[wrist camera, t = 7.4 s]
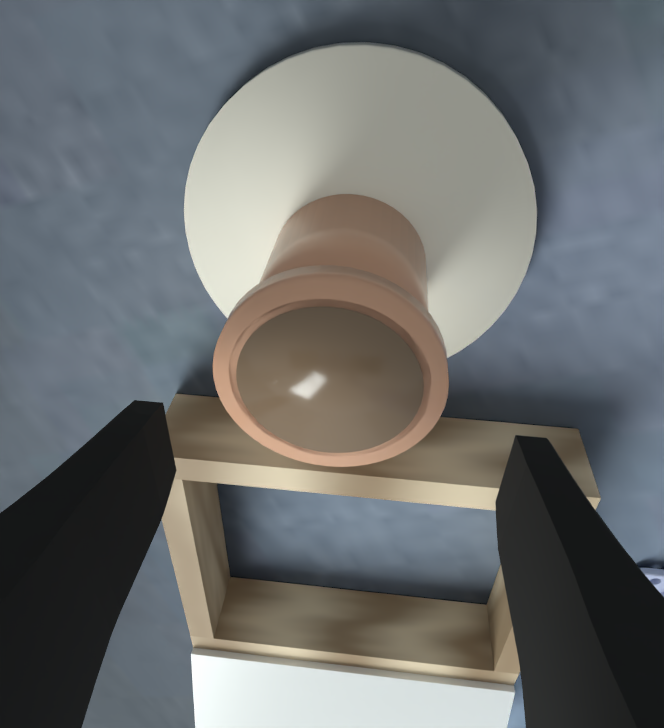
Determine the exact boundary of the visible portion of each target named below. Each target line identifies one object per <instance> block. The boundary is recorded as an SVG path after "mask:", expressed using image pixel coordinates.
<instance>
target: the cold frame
mask: <svg viewBox="0 0 664 728" xmlns="http://www.w3.org/2000/svg"><path fill="white" fill-rule="evenodd" d="M165 416H166V421H167V425H168V430H169V435H170V440H171V445H172V450H173V455H174V460H175V465H176V470H177V471H176V474H175V478H174V481H173V485H172V488H171V492H170V495H169V498H168V501H167V505H166V508H165V511H164V514H163V517H162V522H163V526H164V530H165V534H166V538H167V542H168V546H169V550H170V555H171V559H172V563H173V567H174V571H175V575H176V579H177V583H178V587H179V591H180V595H181V599H182V603H183V607H184V611H185V616H186V620H187V624H188V628H189V632H190V636H191V640H192V644H193V650H192V653H191V662H192V679H193V696H194V712H195V728H507V725H508V720H509V716H510V712H511V708H512V704H513V700H514V696H515V689H514V684H515V682H516V679H517V677H518V675H519V673H520V665H519V658H518V653H517V648H516V642H515V637H514V632H513V626H512V621H511V616H510V611H509V605H508V600H507V595H506V589H505V584H504V578H503V573H502V567H501V564H500V567H499V570H498V573H497V576H496V579H495V582H494V585H493V588H492V591H491V594H490V596H489V599H488V602H487V605H484V604H475V603H465V602H456V601H447V600H438V599H429V598H420V597H410V596H401V595H392V594H383V593H374V592H364V591H355V590H346V589H337V588H328V587H319V586H309V585H300V584H291V583H282V582H273V581H263V580H254V579H245V578H236V577H230V571H229V564H228V557H227V550H226V544H225V537H224V530H223V523H222V516H221V509H220V503H219V496H218V489H217V483H220V484H231V485H241V486H251V487H261V488H272V489H282V490H292V491H302V492H312V493H323V494H333V495H343V496H353V497H364V498H374V499H384V500H394V501H404V502H415V503H425V504H435V505H445V506H456V507H466V508H476V509H486V510H496V505H495V502H496V498H497V495H498V492H499V488H500V485H501V482H502V478H503V475H504V472H505V468H506V465H507V462H508V458H509V455H510V452H511V448H512V445H513V442H514V438H515V435H520V436H531V437H542V438H547V439H548V440H549V441H550V442H551V444H552V445H553V447H554V449H555V450H556V452H557V453H558V455H559V456H560V458H561V460H562V461H563V463H564V464H565V466H566V467H567V469H568V470H569V472H570V473H571V475H572V476H573V478H574V480H575V481H576V483H577V484H578V485H579V487H580V488H581V490H582V491H583V493H584V494H585V496H586V497H587V499H588V500H589V502H590V503H591V505H592V506H593V507H594V509H595V510H596V508H597V505H598V503H599V501H600V499H601V497H600V494H599V491H598V488H597V485H596V482H595V479H594V476H593V473H592V469H591V466H590V463H589V460H588V457H587V454H586V451H585V448H584V445H583V442H582V439H581V436H580V433H579V430H578V429H573V428H562V427H550V426H539V425H527V424H516V423H505V422H493V421H482V420H470V419H459V418H448V417H440V418H439V420H438V421H437V423H436V424H435V426H434V427H433V428H432V430H431V431H430V432H429V433H428V434H427V435H426V436H425V437H424V438H423V439H422V440H420V441H419V442H418V443H417V444H416V445H414V446H413V447H411V448H409V449H408V450H406V451H405V452H403V453H400V454H398V455H396V456H394V457H392V458H389V459H386V460H383V461H380V462H376V463H372V464H367V465H360V466H350V467H333V466H322V465H314V464H310V463H305V462H301V461H298V460H295V459H292V458H288V457H286V456H284V455H281V454H279V453H277V452H274V451H273V450H271V449H269V448H267V447H265V446H263V445H262V444H260V443H259V442H257V441H256V440H254V439H253V438H252V437H251V436H249V435H248V434H247V433H246V432H245V431H243V430H242V429H241V428H240V427H239V426H238V424H237V423H236V422H235V421H234V420H233V419H232V417H231V416H230V415H229V413H228V412H227V411H226V409H225V407H224V406H223V404H222V402H221V400H220V398H219V397H208V396H196V395H185V394H175V396H174V398H173V400H172V402H171V405H170V407H169V409H168V411H167V413H166V415H165Z"/></svg>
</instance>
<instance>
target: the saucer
mask: <svg viewBox="0 0 664 728" xmlns="http://www.w3.org/2000/svg"><path fill="white" fill-rule="evenodd" d="M338 194H355V195H363V196H367V197H371V198H374V199H377V200H379V201H382V202H384V203H386V204H388V205H390V206H391V207H393V208H394V209H396V210H397V211H399V212H400V213H401V214H402V215H403V216H404V217H405V218H406V219H407V220H409V222H410V223H411V224H412V226H413V227H414V228H415V230H416V231H417V233H418V235H419V236H420V239H421V241H422V244H423V246H424V250H425V254H426V265H427V287H428V308H429V313H430V314H431V316H432V317H433V319H434V321H435V322H436V324H437V325H438V327H439V330H440V332H441V334H442V337H443V339H444V343H445V347H446V353H447V358H448V357H450V356H452V355H454V354H456V353H457V352H459V351H461V350H462V349H464V348H465V347H467V346H468V345H469V344H471V343H472V342H474V341H475V340H476V339H478V338H479V337H480V336H481V335H482V334H483V333H484V332H485V331H486V330H488V329H489V328H490V327H491V326H492V325H493V324H494V323H495V321H496V320H497V319H498V318H499V317H500V316H501V314H502V313H503V312H504V311H505V310H506V308H507V307H508V305H509V304H510V302H511V301H512V299H513V298H514V296H515V295H516V293H517V291H518V289H519V287H520V285H521V283H522V281H523V279H524V277H525V275H526V272H527V269H528V266H529V263H530V260H531V257H532V253H533V248H534V242H535V237H536V225H537V205H536V196H535V187H534V184H533V180H532V176H531V172H530V169H529V165H528V162H527V160H526V158H525V155H524V153H523V151H522V148H521V146H520V144H519V142H518V139H517V137H516V135H515V133H514V132H513V130H512V128H511V127H510V125H509V124H508V122H507V120H506V119H505V117H504V116H503V114H502V112H501V111H500V110H499V109H498V108H497V107H496V105H495V104H494V103H493V102H492V101H491V100H490V98H489V97H488V96H487V95H486V94H485V93H484V92H483V91H482V90H481V89H480V88H478V87H477V86H476V85H475V84H474V83H473V82H471V81H470V80H469V79H468V78H467V77H466V76H464V75H462V74H461V73H459V72H458V71H456V70H454V69H453V68H451V67H450V66H448V65H446V64H445V63H443V62H441V61H439V60H436V59H434V58H432V57H430V56H427V55H425V54H423V53H420V52H417V51H414V50H410V49H406V48H403V47H399V46H395V45H389V44H381V43H372V42H347V43H336V44H331V45H325V46H319V47H314V48H311V49H308V50H305V51H302V52H299V53H296V54H294V55H291V56H289V57H287V58H285V59H283V60H281V61H279V62H277V63H275V64H273V65H271V66H269V67H267V68H266V69H265V70H263V71H262V72H260V73H259V74H258V75H256V76H255V77H253V78H252V79H251V80H249V81H248V82H247V83H246V84H245V85H244V86H243V87H242V88H241V89H240V90H239V91H238V92H236V93H235V94H234V95H233V96H232V97H231V98H230V99H229V100H228V101H227V102H226V104H225V105H224V106H223V107H222V108H221V110H220V111H219V112H218V114H217V115H216V116H215V117H214V119H213V120H212V121H211V123H210V124H209V126H208V128H207V129H206V131H205V133H204V135H203V137H202V138H201V140H200V142H199V144H198V146H197V149H196V152H195V154H194V157H193V160H192V162H191V165H190V169H189V174H188V178H187V183H186V188H185V202H184V217H185V231H186V235H187V240H188V245H189V250H190V253H191V256H192V259H193V262H194V265H195V268H196V270H197V272H198V274H199V276H200V279H201V281H202V283H203V285H204V287H205V289H206V290H207V292H208V293H209V295H210V296H211V298H212V299H213V301H214V302H215V304H216V305H217V306H218V308H219V309H220V310H221V311H222V312H223V314H224V315H225V316H226V317H227V318H228V317H229V315H230V313H231V311H232V310H233V308H234V307H235V305H236V304H237V302H238V301H239V300H240V299H241V298H242V297H243V296H244V295H245V294H246V293H247V292H248V291H249V290H251V289H252V288H253V287H255V286H256V285H257V284H259V282H260V280H261V277H262V275H263V272H264V270H265V267H266V265H267V262H268V260H269V257H270V255H271V252H272V250H273V247H274V245H275V242H276V240H277V237H278V235H279V233H280V231H281V229H282V227H283V226H284V225H285V223H286V222H287V220H288V219H289V218H290V217H291V216H292V215H293V214H294V213H295V212H297V211H298V210H299V209H300V208H302V207H303V206H305V205H307V204H308V203H310V202H312V201H315V200H317V199H320V198H323V197H327V196H331V195H338Z"/></svg>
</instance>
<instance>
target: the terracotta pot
mask: <svg viewBox="0 0 664 728" xmlns="http://www.w3.org/2000/svg"><path fill="white" fill-rule="evenodd" d="M213 378H214V382H215V387H216V390H217V393H218V395H219V398H220V400H221V402H222V404H223V406H224V407H225V409H226V411H227V412H228V413H229V415H230V416H231V417H232V419H233V420H234V421H235V422H236V423H237V424H238V426H239V427H240V428H241V429H242V430H243V431H245V432H246V433H247V434H248V435H249V436H251V437H252V438H253V439H254V440H256V441H257V442H259V443H260V444H262V445H263V446H265V447H267V448H269V449H271V450H273V451H274V452H277V453H279V454H281V455H284V456H286V457H288V458H292V459H295V460H298V461H301V462H305V463H310V464H314V465H322V466H333V467H350V466H360V465H367V464H372V463H376V462H380V461H383V460H386V459H389V458H392V457H394V456H396V455H398V454H400V453H403V452H405V451H406V450H408V449H409V448H411V447H413V446H414V445H416V444H417V443H418V442H419V441H420V440H422V439H423V438H424V437H425V436H426V435H427V434H428V433H429V432H430V431H431V430H432V428H433V427H434V426H435V424H436V423H437V421H438V420H439V418H440V416H441V414H442V412H443V410H444V408H445V404H446V401H447V397H448V389H449V377H448V365H447V353H446V347H445V343H444V339H443V337H442V334H441V332H440V330H439V327H438V325H437V324H436V322H435V321H434V319H433V317H432V316H431V314H430V313H429V308H428V287H427V265H426V254H425V250H424V246H423V244H422V241H421V239H420V236H419V235H418V233H417V231H416V230H415V228H414V227H413V226H412V224H411V223H410V222H409V220H407V219H406V218H405V217H404V216H403V215H402V214H401V213H400V212H399V211H397V210H396V209H394V208H393V207H391V206H390V205H388V204H386V203H384V202H382V201H379V200H377V199H374V198H371V197H367V196H363V195H355V194H338V195H331V196H327V197H323V198H320V199H317V200H315V201H312V202H310V203H308V204H307V205H305V206H303V207H302V208H300V209H299V210H298V211H297V212H295V213H294V214H293V215H292V216H291V217H290V218H289V219H288V220H287V222H286V223H285V225H284V226H283V227H282V229H281V231H280V233H279V235H278V237H277V240H276V242H275V245H274V247H273V250H272V252H271V255H270V257H269V260H268V262H267V265H266V267H265V270H264V272H263V275H262V277H261V280H260V282H259V284H257V285H256V286H255V287H253V288H252V289H251V290H249V291H248V292H247V293H246V294H245V295H244V296H243V297H242V298H241V299H240V300H239V301H238V302H237V304H236V305H235V307H234V308H233V310H232V311H231V313H230V315H229V317H228V319H227V321H226V323H225V325H224V328H223V330H222V332H221V334H220V337H219V339H218V341H217V344H216V348H215V351H214V357H213Z"/></svg>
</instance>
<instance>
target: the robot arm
mask: <svg viewBox="0 0 664 728" xmlns="http://www.w3.org/2000/svg"><path fill="white" fill-rule="evenodd" d="M176 471H177V470H176V465H175V460H174V455H173V450H172V445H171V440H170V435H169V430H168V425H167V421H166V416H165V411H164V406H163V403H159V402H148V401H137V400H134V401H133V402H132V403H131V404H130V405H129V406H127V407H126V408H125V409H124V410H123V411H122V412H120V413H119V414H118V415H117V416H116V417H115V418H114V419H113V420H112V421H110V422H109V423H108V424H107V425H106V426H105V427H104V428H103V429H102V430H100V431H99V432H98V433H97V434H96V435H95V436H94V437H93V438H92V439H90V440H89V441H88V442H87V443H86V444H85V445H84V446H83V447H81V448H80V449H79V450H78V451H77V452H76V453H74V454H73V455H72V456H71V457H70V458H69V459H67V460H66V461H65V462H64V463H63V464H62V465H60V466H59V467H58V468H57V469H56V470H55V471H53V472H52V473H51V474H50V475H49V476H47V477H46V478H45V479H44V480H42V481H41V482H40V483H39V484H37V485H36V486H35V487H34V488H32V489H31V490H30V491H29V492H27V493H26V494H25V495H23V496H22V497H21V498H20V499H18V500H17V501H16V502H15V503H13V504H12V505H11V506H9V507H8V508H7V509H5V510H4V511H3V512H1V513H0V728H81V727H82V724H83V721H84V718H85V714H86V711H87V708H88V705H89V702H90V698H91V695H92V692H93V689H94V685H95V682H96V679H97V676H98V673H99V670H100V667H101V664H102V661H103V658H104V655H105V652H106V649H107V646H108V643H109V640H110V637H111V634H112V632H113V629H114V627H115V624H116V622H117V619H118V617H119V614H120V611H121V609H122V607H123V605H124V603H125V600H126V598H127V596H128V594H129V591H130V589H131V587H132V585H133V582H134V580H135V578H136V576H137V573H138V571H139V569H140V567H141V564H142V562H143V560H144V558H145V556H146V553H147V551H148V549H149V547H150V544H151V542H152V540H153V537H154V535H155V533H156V531H157V528H158V526H159V524H160V521H161V519H162V517H163V514H164V511H165V508H166V505H167V501H168V498H169V495H170V492H171V488H172V485H173V481H174V478H175V474H176ZM495 505H496V523H497V538H498V551H499V556H500V562H501V567H502V573H503V578H504V584H505V589H506V595H507V600H508V605H509V611H510V616H511V621H512V626H513V632H514V637H515V642H516V648H517V653H518V658H519V665H520V672H521V679H522V688H523V699H524V710H525V721H526V728H664V569H654V568H639V567H638V566H637V564H636V563H635V562H634V561H633V559H632V558H631V557H630V556H629V555H628V553H627V552H626V551H625V549H624V548H623V547H622V545H621V544H620V543H619V542H618V540H617V539H616V538H615V536H614V535H613V534H612V532H611V531H610V529H609V528H608V527H607V525H606V524H605V523H604V521H603V520H602V518H601V517H600V516H599V514H598V513H597V512H596V510H595V509H594V507H593V506H592V505H591V503H590V502H589V500H588V499H587V497H586V496H585V494H584V493H583V491H582V490H581V488H580V487H579V485H578V484H577V483H576V481H575V480H574V478H573V476H572V475H571V473H570V472H569V470H568V469H567V467H566V466H565V464H564V463H563V461H562V460H561V458H560V456H559V455H558V453H557V452H556V450H555V449H554V447H553V445H552V444H551V442H550V441H549V440H548V439H547V438H542V437H531V436H520V435H515V438H514V442H513V445H512V448H511V452H510V455H509V458H508V462H507V465H506V468H505V472H504V475H503V478H502V482H501V485H500V488H499V492H498V495H497V498H496V502H495Z"/></svg>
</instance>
